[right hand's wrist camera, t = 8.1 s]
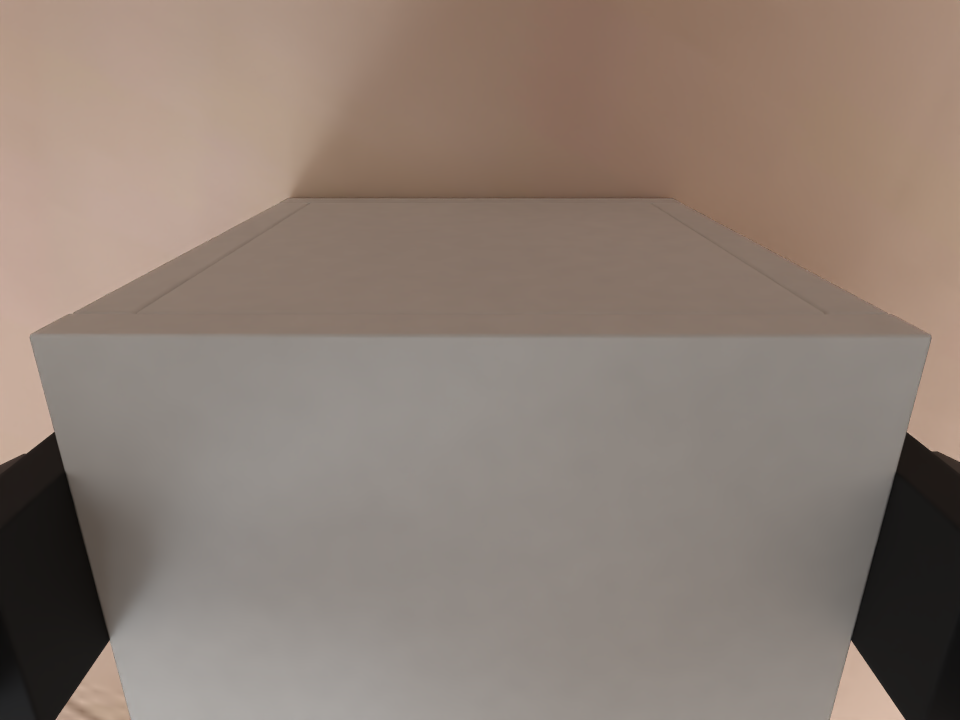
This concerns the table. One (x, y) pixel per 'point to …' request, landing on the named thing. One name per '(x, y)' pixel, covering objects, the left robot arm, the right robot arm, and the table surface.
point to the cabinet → (480, 465)
